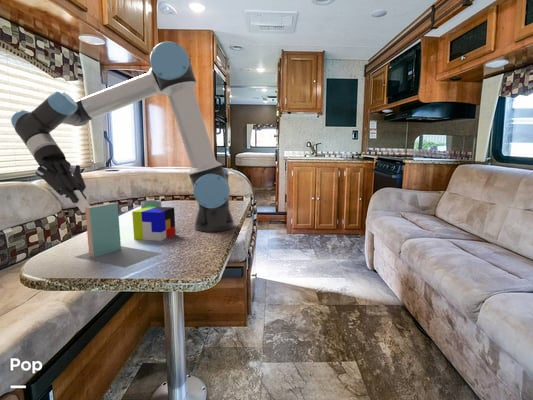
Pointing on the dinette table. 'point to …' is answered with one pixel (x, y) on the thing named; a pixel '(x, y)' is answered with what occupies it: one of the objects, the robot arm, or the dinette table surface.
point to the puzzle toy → (154, 223)
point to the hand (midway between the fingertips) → (86, 209)
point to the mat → (122, 256)
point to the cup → (151, 203)
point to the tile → (103, 229)
